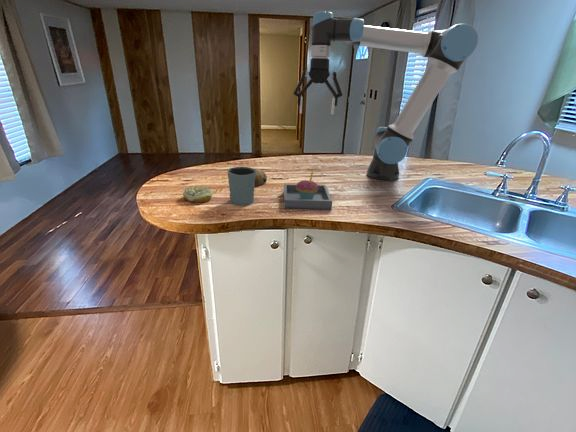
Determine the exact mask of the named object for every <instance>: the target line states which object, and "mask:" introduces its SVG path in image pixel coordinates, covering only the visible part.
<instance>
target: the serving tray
mask: <svg viewBox="0 0 576 432" xmlns="http://www.w3.org/2000/svg"><path fill="white" fill-rule="evenodd" d="M297 184H298V183H295V184H293V183H291V184H290V183H283V206H284V207H283V208H284V209H283V210H307V211H308V210H309V211H310V210H313V211H314V210H315V211H332V210H333V209H332V208H333V200H332V196H331V194H330V192H329V188H328V187H327V184H317V185H318V186H319V189H318V191H317V192H316V193H315V195H314V197H313V200H308V199H301V198H300V194H299V192H298V191H297V190H296V185H297Z"/></svg>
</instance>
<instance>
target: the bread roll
mask: <svg viewBox="0 0 576 432" xmlns="http://www.w3.org/2000/svg"><path fill="white" fill-rule="evenodd" d="M254 169H255V170H256V176H255V183H254V184H255V186H256V187H257V186H262V185H266V184H267V179H268V178H267V174H266V172H265V171H263V170H262V169H261V168H254Z"/></svg>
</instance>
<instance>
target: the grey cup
mask: <svg viewBox="0 0 576 432" xmlns="http://www.w3.org/2000/svg"><path fill="white" fill-rule="evenodd" d="M255 169H256V168H252V167H249V166H232V167H230V168H228V169H227V178H228V189H229V199H230V203H231V204H232V205H234V206H241V207H242V206H244V207H245V206H249V205H252V204H253V203H254V197H255V184H254V183H255V176H256V170H255Z"/></svg>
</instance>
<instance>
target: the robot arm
mask: <svg viewBox="0 0 576 432" xmlns="http://www.w3.org/2000/svg"><path fill="white" fill-rule="evenodd" d="M312 18H313V19H312V26H311V27H312V28H311V29H312V30H311V45H310V46H311V51H310V57H311V59H310V65H309V71H306V70H302V73H301V77H300V79H299V82H298V83H297V85H296V87H295V89H294V91H293V95H294V96H296V97H297V106H299V114H303V96H302V95H304V94H305V92H306V91H307V89H309V87H310V86H311V85H312V84H313V83H314V84H325V86H326V87H327V89H328V90H329V92H330V93H331V94H332V96H333V97H332V98H331V110H330V114H331V115H335V107H337V105H338V98H341V97H343V93H342V92H343V91H342V90H341V87H340V84H339V81H338V79H337V72H336V71H332V72H330V59H329V58H330V56H331V43H332V42H341V43H343V45H346V46H360V47H367V48H374V49H381V50H383V49H384V50H390V51H397V52H403V53H404V52H406V53H411V54H419V55H421V57H422V58H426V59H428V66H427V68H426V69H425V71H424V73H423V74H422V76H421V78H420V79H419V81H418V83H417V84H416V86H415V88H414V90H413V91H412V93H410V96H409V97H408V99H407V101H406V103H405V105H404V106H403V108H402V109H401V111H400V112H399V114H398V116H397V118H396V119H395V122H393V123H392V124H388V126H379V127H377V129H376V133H375V142H374V147H373V155H372V158H371V160H370V161H371V162H370V163H369V166H368V168H367V170H366V175H367V176H368V177H369V178H371V179H375V180H379V181H380V180H381V181H395V180H398V179H399V178H400V168H399V163H400V162H402V161H403V160H404V159H405V157H406V155H407V153H408V150H409V149H408V148H409V147H410V145H411V143H412V142H413V141H414V138H415V137H414V132H415V130H416V129H417V127H418V126H419V124H420V122H421V121H422V119H423V118H424V116H425V114H426V113H427V111H428V110H429V108H430V107H431V105H432V104H433V102H434V101H435V99H436V98H437V96H438V94H439V92H440V91H441V90H442V88H443V87H444V85H445V83H446V82H447V80H448V79H449V77H450V76H451V75H452V74H455V73H458V71H459V69H460V68H461V66H462V65H463V63H465V62H464V61H465V60H466V59H468V58H469V57H470V56H472V54H473V53H474V52H475V50H476V48H477V46H478V41H479V36H478V33H477V30H476V29H475V27H474V26H472V25H471V24H469V23H456V24H453V25H452V26H450V27H448V28H447V29H441V30H433V29H429V30H428V31H427V32H425V31H418V30H417V31H416V30H407V29H400V28H390V27H384V26H383V27H382V26H374V25H365V20H364V19H363V18H357V17H353V18H335V17H334V14H333V12H331V11H326V10H320V11H316V12H315V13H314V14H313V17H312ZM308 76H309V80H308V81H307V83H306V84H305V85H304V86H303V87H302V84H303V83H304V81H305V78H306V77H308ZM329 77H330V78H331V79H332V81H333V84H334V86H335V89H336V91H337V92H336V91H335V89H334V88H333V87H332V85H331V84H330V81H328V78H329ZM301 87H302V89H301V90H300V88H301ZM299 90H300V91H299Z"/></svg>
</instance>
